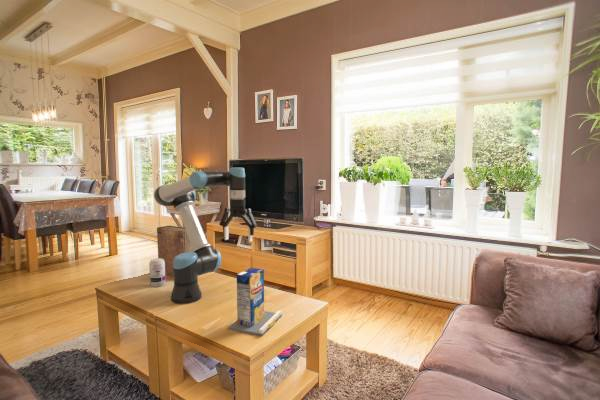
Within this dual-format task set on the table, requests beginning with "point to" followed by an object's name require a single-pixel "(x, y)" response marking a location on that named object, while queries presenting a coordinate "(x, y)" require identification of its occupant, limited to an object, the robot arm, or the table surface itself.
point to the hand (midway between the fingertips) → (238, 240)
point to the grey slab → (258, 324)
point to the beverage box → (250, 297)
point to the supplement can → (157, 272)
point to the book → (172, 245)
